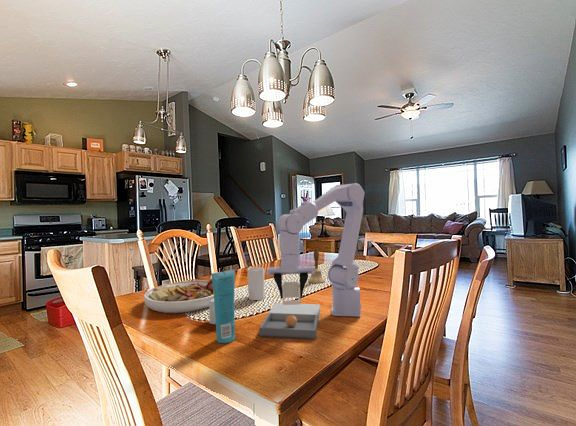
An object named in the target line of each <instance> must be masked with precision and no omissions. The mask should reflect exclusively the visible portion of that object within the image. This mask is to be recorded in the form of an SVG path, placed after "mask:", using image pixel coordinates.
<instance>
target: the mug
mask: <svg viewBox="0 0 576 426" xmlns="http://www.w3.org/2000/svg"><path fill="white" fill-rule="evenodd" d="M247 290H248V291H247V292H248V293H247V294H248V299H250V301H253V300H258V301H262V300H264V299H265V268H264V267H262V266H252V267H251V266H250V267H248V268H247ZM261 299H262V300H261Z"/></svg>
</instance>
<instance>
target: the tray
mask: <svg viewBox="0 0 576 426" xmlns="http://www.w3.org/2000/svg"><path fill="white" fill-rule="evenodd" d="M318 327H319V322H318V315H316V316H315V321H303V320H297V323H296V325H295V326H293V327H289V326H288V325H287V324H286V320H279V319H271V313H269V312H268V313H267V315H266V316H265V318H264V320H263V321H262V322H261V324H260V326H259V327H258V330H259V331H258V334H259V337H261V338H278V339H279V338H281V339H295V340H296V339H298V340H299V339H301V340H317V334H318Z"/></svg>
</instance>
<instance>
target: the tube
mask: <svg viewBox="0 0 576 426" xmlns="http://www.w3.org/2000/svg"><path fill="white" fill-rule="evenodd" d="M210 276H211V279H212V285H213V295H214V306H215V318H216V324H215V330H216V331H215V332H216V341H217V343H219V344H228V343H231V342H233V341H234V340H235V338H236V335H235V331H236V330H235V327H236V326H235V324H236V323H235V318H234V314H235V283H236V282H235V280H236V279H235V278H236V277H235V276H236V270H235V269H231V270H224V271H219V272H218V271H217V272H213V273H211V275H210Z"/></svg>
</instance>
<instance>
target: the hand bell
mask: <svg viewBox="0 0 576 426" xmlns="http://www.w3.org/2000/svg"><path fill="white" fill-rule="evenodd" d="M319 257H320V253H319V250H318V248H316V247H315V248H314V251H313V259H314V268H315V274H311V273H310V274H311V275H310V277H309V278H308V279H307V282H309V283H311V284H320V283H321V284H322V282H323V283H325V282H326V280H325V278H324V277H323V274H322V271H321V269H320V268H319Z"/></svg>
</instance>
